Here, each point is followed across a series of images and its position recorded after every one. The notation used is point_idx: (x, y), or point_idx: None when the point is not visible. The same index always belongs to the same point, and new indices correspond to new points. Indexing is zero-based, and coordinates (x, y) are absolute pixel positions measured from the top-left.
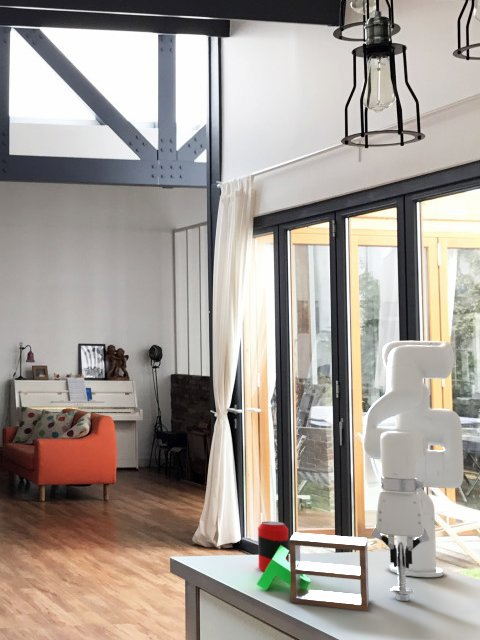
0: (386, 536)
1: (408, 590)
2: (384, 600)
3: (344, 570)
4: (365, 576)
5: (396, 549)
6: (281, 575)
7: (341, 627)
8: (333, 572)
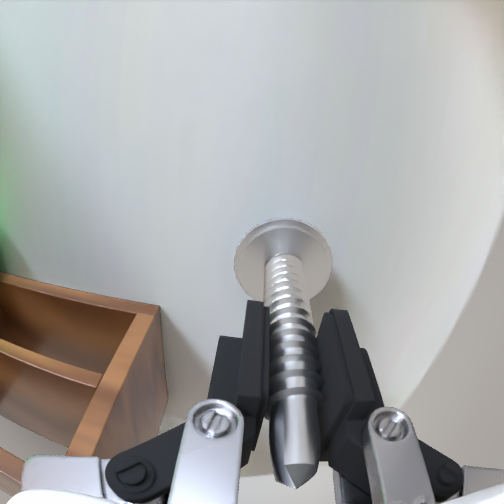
0: (152, 497)
1: (307, 289)
2: (211, 278)
3: (73, 431)
4: None
5: (256, 438)
6: None
7: None
8: (64, 445)
